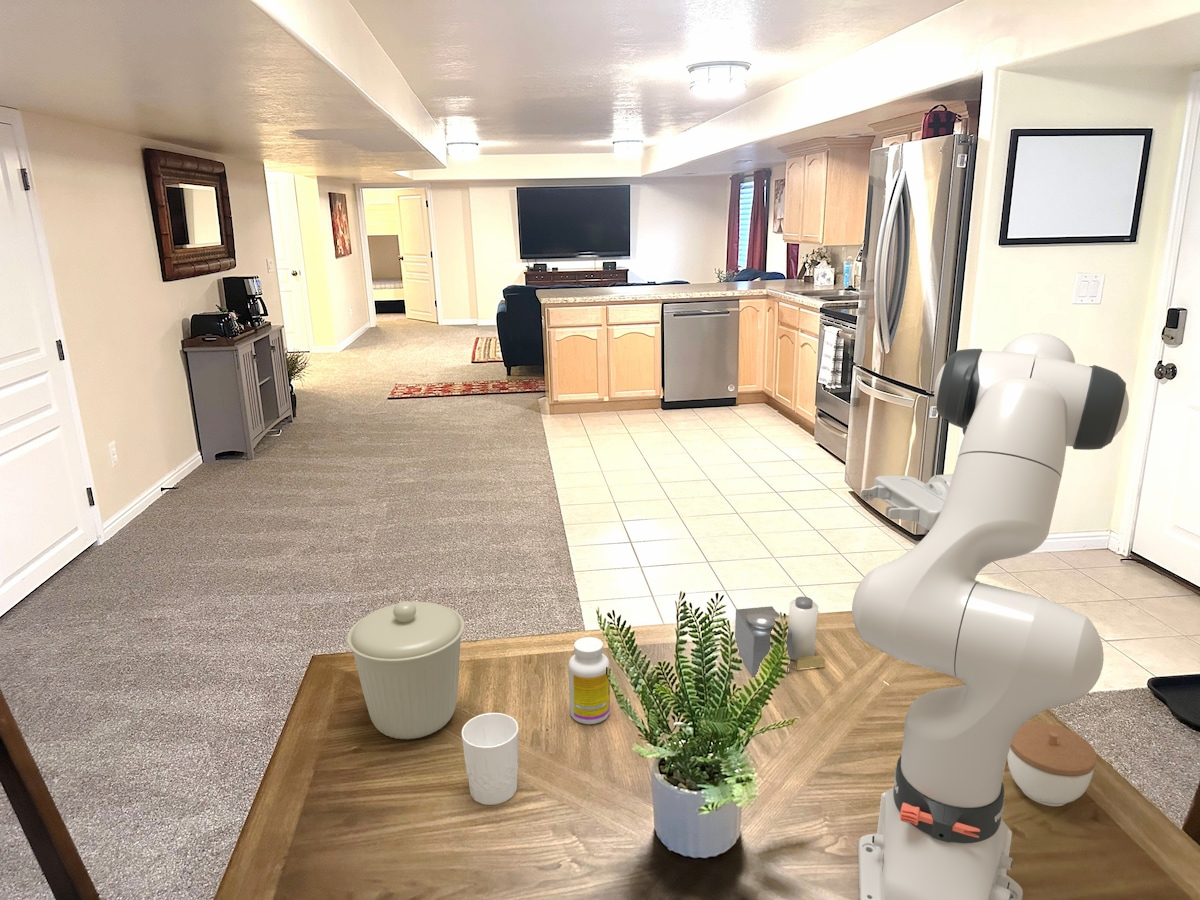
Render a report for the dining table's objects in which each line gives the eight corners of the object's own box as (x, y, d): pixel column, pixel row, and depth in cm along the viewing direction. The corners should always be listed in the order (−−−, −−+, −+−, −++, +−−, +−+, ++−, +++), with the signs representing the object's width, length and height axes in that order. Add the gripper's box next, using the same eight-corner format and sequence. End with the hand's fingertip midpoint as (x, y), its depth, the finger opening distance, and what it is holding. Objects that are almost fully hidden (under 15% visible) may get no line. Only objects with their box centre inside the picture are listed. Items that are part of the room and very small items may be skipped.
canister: (412, 770, 119) (400, 644, 113) (333, 729, 129) (318, 611, 123) (493, 709, 133) (486, 594, 127) (416, 677, 143) (406, 568, 137)
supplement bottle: (616, 720, 130) (615, 650, 126) (578, 730, 128) (576, 658, 124) (601, 698, 136) (600, 630, 132) (564, 707, 134) (562, 638, 130)
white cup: (532, 782, 116) (529, 722, 113) (498, 816, 110) (495, 754, 107) (489, 764, 120) (485, 706, 117) (454, 796, 114) (449, 736, 111)
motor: (824, 669, 144) (827, 624, 141) (752, 676, 142) (754, 631, 139) (796, 633, 156) (799, 591, 153) (729, 639, 154) (731, 597, 151)
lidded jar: (1101, 822, 107) (1113, 763, 104) (1015, 814, 109) (1025, 755, 106) (1069, 769, 117) (1079, 714, 115) (991, 763, 119) (1000, 708, 116)
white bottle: (810, 664, 145) (814, 609, 142) (783, 657, 147) (786, 603, 144) (817, 651, 149) (821, 597, 146) (790, 644, 151) (793, 592, 148)
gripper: (917, 465, 152) (849, 469, 150) (983, 501, 133) (905, 506, 131) (914, 496, 154) (846, 501, 152) (978, 536, 135) (901, 542, 133)
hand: (874, 503), depth 141 cm, fingers open, 8 cm apart
